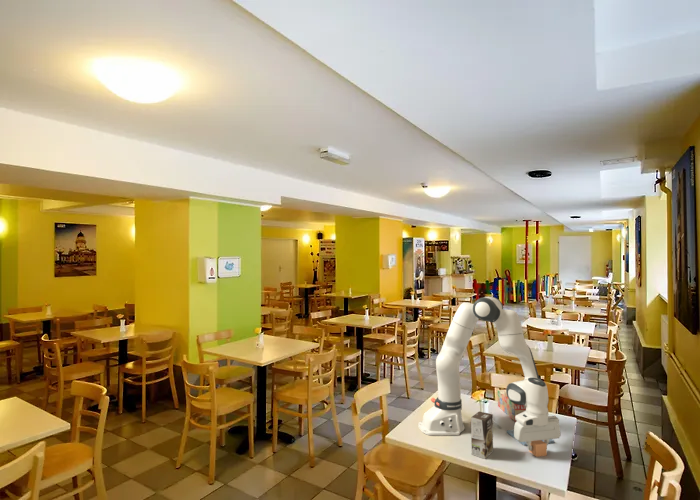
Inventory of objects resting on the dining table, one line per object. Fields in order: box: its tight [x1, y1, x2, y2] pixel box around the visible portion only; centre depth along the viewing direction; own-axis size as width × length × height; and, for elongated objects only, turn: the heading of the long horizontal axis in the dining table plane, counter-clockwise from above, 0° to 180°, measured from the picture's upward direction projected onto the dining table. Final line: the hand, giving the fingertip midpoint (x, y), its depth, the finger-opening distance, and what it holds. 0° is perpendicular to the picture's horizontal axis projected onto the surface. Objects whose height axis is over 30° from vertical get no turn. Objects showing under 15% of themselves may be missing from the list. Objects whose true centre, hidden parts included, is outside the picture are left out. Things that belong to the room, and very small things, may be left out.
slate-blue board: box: [506, 429, 555, 447], centre depth 188 cm, size 15×14×1 cm
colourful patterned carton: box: [497, 389, 526, 423], centre depth 217 cm, size 21×6×12 cm, turn 2°
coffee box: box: [470, 411, 494, 460], centre depth 174 cm, size 9×6×16 cm
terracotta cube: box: [528, 440, 548, 458], centre depth 173 cm, size 5×5×5 cm
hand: (537, 449), depth 173 cm, fingers closed on terracotta cube, 5 cm apart
